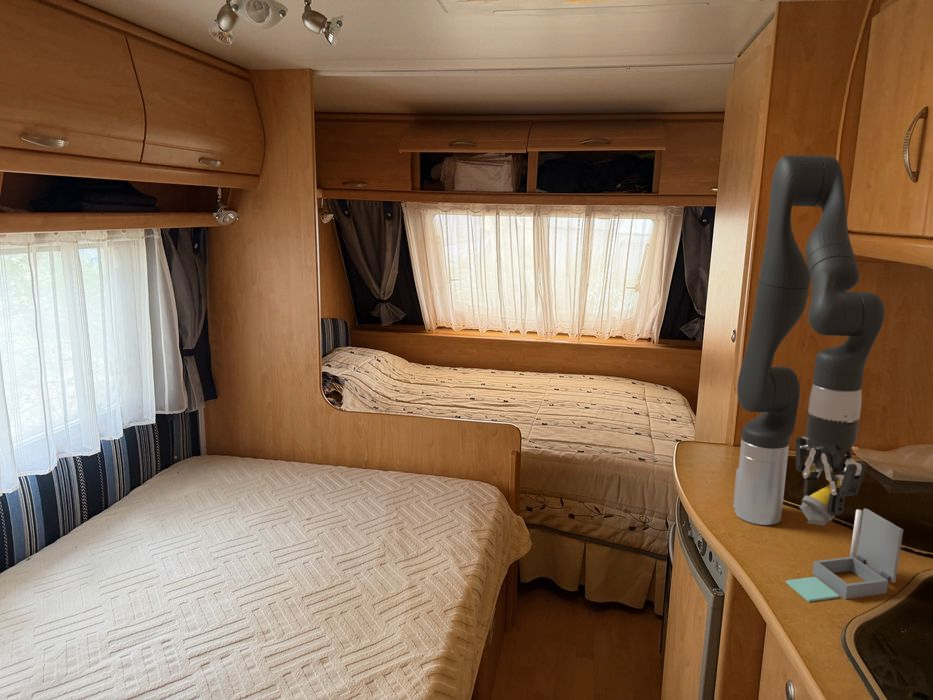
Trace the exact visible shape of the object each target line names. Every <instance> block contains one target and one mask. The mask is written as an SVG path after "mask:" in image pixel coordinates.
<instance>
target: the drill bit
mask: <svg viewBox="0 0 933 700" xmlns="http://www.w3.org/2000/svg"><path fill="white" fill-rule="evenodd" d="M837 485H838V487H841V486H840V481H839V480H838V481H837ZM830 493H831V489H830V484H827V485H826V486H824V487H822V488H821V489H818V492H815V493H813V494H812V495H810V496H805V497H803V498H802V499H801V504H800V505H799V509H800V510H801V512H802V513H803V515H804V516H805V518H806V519H807V520H808V521H807V522H806V524H809V525H817V526H825V525H826V524H827V523H828V522H831V521H833V519H834V518H835V517H836V515H834V516H832V515H830V514H829V513H828V505H829V497H830Z"/></svg>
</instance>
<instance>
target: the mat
mask: <svg viewBox="0 0 933 700" xmlns="http://www.w3.org/2000/svg"><path fill="white" fill-rule="evenodd" d="M785 584H787V585H788V586H789V587H790V588H792V589H793V590H794V591H795V592H796V593H797V594H798V595H800V596H801V597H802V598H803V599H804V600H805V601H807V602H808V603H810V602H817V601H825V600H832V599H839V598H840V595H839V594H838V593H837V592H835V591H834V590H833V589H832V588H830V587H829V586H828V585H826V584H825V583H824V582H823V581H821V580H820V579H819V578H817V577H816V576H811V577H809V576H808V577H802V578H801V577H800V578H794V579H787V580H785Z"/></svg>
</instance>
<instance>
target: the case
mask: <svg viewBox="0 0 933 700" xmlns="http://www.w3.org/2000/svg"><path fill="white" fill-rule="evenodd" d="M903 534H904V529H903V528H901V527H899V526H897V525H896V524H894V523H893V522H891V521H889V520H888V519H885V518H883V517H882V516H881V515H879V514H878V513H877V514H876V513H875V512H873V511H872V510H870V509H868V508H866V507H865V508H863V510H862V509H856V510H855V516H854V524H853V530H852V539H851V545H850V555H849V556H846V557H845V556H844V557H837V558H829V559H821V560H819V559H818V560H814V561H813V564H812V565H813V566H812V575H814V577H816V578H818V579H819V580H820V581H821V582H823V583H824V584H825V585H827V586H828V587H829V588H830V589H832V590H833V591H834V592H836V593H837V594H838V595H839V596H841V597H842V598H843V599H845V600H848V599H849V600H850V599H857V598H864V597H871V596H878V595H885V594H886V595H887V592H888V585H889V582H890V583H893V584H895V583H896V582H897V581H896V580H897V576H898V575H897V573H898V567H899V563H900V562H899V560H900V555H901V550H902V540H903V537H904V536H903ZM849 571H850V572H852V573H853V574H855V575H856V576H858V577H859V578H860V579H862V580H863V581H858V582H851V583H847V582H846V581H845V580H843V578H841V577H839V576H838V575H837V574H835V573H842V572H849Z"/></svg>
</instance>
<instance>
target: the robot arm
mask: <svg viewBox="0 0 933 700" xmlns="http://www.w3.org/2000/svg"><path fill="white" fill-rule="evenodd" d="M771 179H772V180H771V185H770V187H771V188H770V195H769V207H768V217H767V231H766V237H765V244H764V250H763V256H762V261H761V262H762V263H761V266H760V271H759V275H758V281H757V288H756V294H755V300H754V301H755V302H754V308H753V309H754V310H753V315H752V320H751V326H750V331H749V332H750V333H749V336H748V340H747V345H746V347H745V348H746V349H745V352H744V355H743V359H742V363H741V367H740V370H739V374H738V379H737V387H736V388H737V389H736V393H737V399H738V402H739V404H740V406H741V408H743V410H745V411H746V412H750V413H760V414H759V415H757V417H755V418H754V419H752V420H750V421H748V422H746V423H745V424H744V425H743V427H742V429H741V438H740V439H741V440H740V451H739V452H740V453H739V460H738V461H739V462H738V463H739V464H738V467H737V468H736V471H735V479H734V480H735V481H734V483H735V484H734V491H733V503H732V508H733V509H734V513H735V515H736V516H737V518H740V519H741V520H743V521H745V522H747V523H750V524H754V525H760V526H773V525H776V524H779V523H780V522H781V521H782V512H783V504H784V495H785V486H786V485H785V484H786V476H787V475H786V474H787V465H788V457H789V447H790V440H791V437H792V435H793V434H794V433H793V432H795V431H794V430H795V427H796V421H797V414H798V409H799V404H800V396H801V387H800V381H799V378H798V376H797V374H796V372H795V371H794V370H793V369H792V368H790V367H788V366H777V365H776V366H772V365H773V362H774V361H773V360H774V357H775V355H776V353H777V350H778V349H779V346H780V345H781V343H782V342H783V341H784V340H785V338H786V337H787V336H788V335H789V333H790V332H791V330H792V329H793V328H794V327H795V326H796V325H797V323H798V322H799V320H800V319H801V318H802V316H803V314H804V312H805V310H806V306H807V301H808V297H809V291H810V286H811V293H810V294H811V296H810V302H809V308H808V315H807V317H808V323H809V325H810V327H811V329H812V330H813V331H814V332H816V333H817V334H818V335H822V336H837V337H839V336H841V337H842V336H843V337H848V338H847V339H846V340H845V342H843V344H841V345H838V346H834V347H829V348H824V349H821V350H819V351H818V352H817V354H816V355H815V362H814V371H813V379H812V380H813V381H812V385H811V390H810V394H809V398H808V399H809V400H808V407H807V415H806V416H807V418H806V423H805V424H806V425H805V435H806V436H798V437H795V441H794V443H795V444H794V445H795V449H794V450H795V468H796V469H795V470H796V471H798V472H801V473H802V477H803V478H804V479H803V480H804V481H803V489H802V492H803V493H802V494H803V496H802V497H803V498H804V497H805V496H810V495H812V494H813V493H815V492H818V491H819V484H820V479H819V477H820V476H821V473H822V472H824V474H825V480H826V481H828V482H829V485H830V489H831V493H830V497H829V505H828V513H829V514H830V515H832V516H834V515H835V516H840V515H842V514H843V513H844V511H845V504H846V503H845V502H846V497H849V496H850V497H851V496H857V495H858V494H859V492H860V491H859V490H860V488H861V485H862V482H863V479H864V475H865V472H866V469H867V466H866V464H865V463H864V462H859V463H858V461H856V460H854V458H853V454H852V447H853V446H854V444H856V442H857V440H858V432H859V425H860V417H861V412H862V411H861V410H862V409H861V408H862V400H863V399H862V388H863V387H862V386H863V381H864V380H863V378H864V375H865V374H864V373H865V366H866V363H867V360H868V358H869V355H870V353H871V350H872V348H873V346H874V344H875V341H876V339H877V337H878V335H879V334H880V331H881V329H882V327H883V325H884V321H885V316H886V308H885V305H884V303H883V300H882V299H881V298H880V296H879V295H877V294H876V293H873V292H868V291H850V290H851V289H853V288H854V287H855V286H856V285H857V284H858V282H859V279H860V271H859V266H858V263H857V260H856V256H855V253H854V250H853V247H852V244H851V240H850V235H849V227H848V215H847V214H848V213H847V200H846V189H845V181H844V172H843V170H842V166H841V164H840V163H839V160H838V159H836V158H835V157H833V156H830V155H829V156H828V155H806V154H805V155H802V154H801V155H800V154H799V155H798V154H797V155H795V154H794V155H793V154H792V155H791V154H790V155H789V154H788V155H787V154H786V155H783V156H781V157H780V158H779V159H778V161H777V163H776V165H775V167H774V170H773V173H772V178H771ZM793 207H810V208H811V207H819V208H820V209H821V212H822V214H821V215H822V216H821V218H820V220H819V221H818V223H817V224H816V226H815V228H814V229H813V231H812V232H811V234H810V236H809V237H808V239H807V242H806V245H805V257H804V255H803V253H802V251H801V250H800V247H799V246H798V244H797V241H796V238H795V235H794V233H793V229H792V209H793ZM804 458H805V462H804ZM834 473H835V474H836V473H840V474H836V475H835V474H834ZM838 480H839V481H840V486H839V487H838V485H837V481H838ZM835 516H834V517H835Z"/></svg>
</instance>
